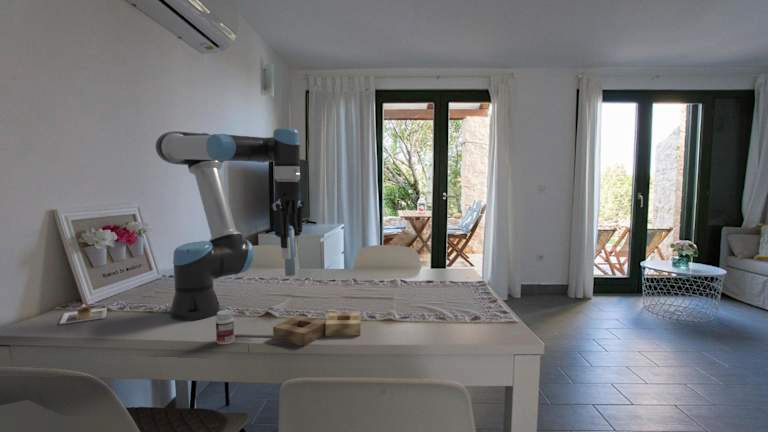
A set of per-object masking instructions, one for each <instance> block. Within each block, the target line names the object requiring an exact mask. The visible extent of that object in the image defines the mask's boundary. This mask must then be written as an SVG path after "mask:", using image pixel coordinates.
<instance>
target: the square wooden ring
mask: <svg viewBox="0 0 768 432" xmlns="http://www.w3.org/2000/svg"><path fill="white" fill-rule="evenodd" d="M325 323H326V320H323V319H319V318H313V317H309V316H308V317H307V316H302V315H296V316H293V317H291V318H290V319H287V320H286V321H283V322H280V323H279V324H277V325H274V326H272V331H273V332H272V334H273V337H272V338H273V340H276V339H277V340H278V341H282V342H285V343H289V342H290V343H291V344H294V343H295V344H294V345H298V346H299V345H300V346H304V347H305V346H307V345H310V344H311V343H313V342H314V340H315V341H317V340H318V339H320V338H323V336H326V334H325ZM312 341H313V342H312Z"/></svg>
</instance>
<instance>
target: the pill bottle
mask: <svg viewBox="0 0 768 432" xmlns="http://www.w3.org/2000/svg"><path fill="white" fill-rule="evenodd" d="M215 333H216V335H215V336H216V343H217V344H219V345H228V344H229V345H230V344H232V343H234V342H235V337H236V336H235V334H236V333H235V318H234V316H233V310H230V309H224V310H220V311H219V312H217V314H216V320H215Z"/></svg>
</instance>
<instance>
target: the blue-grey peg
mask: <svg viewBox="0 0 768 432" xmlns="http://www.w3.org/2000/svg"><path fill="white" fill-rule="evenodd" d="M288 237H290V255H291V259H285V258H284V273H285V276H286V277H292V276H296V257H295V247H294V228H293V227H292V226H291V225H289V228H288Z"/></svg>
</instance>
